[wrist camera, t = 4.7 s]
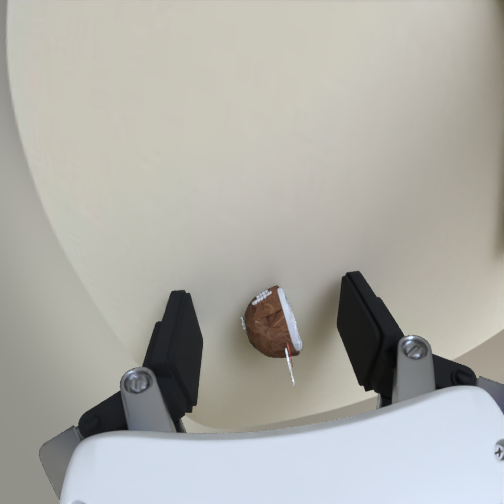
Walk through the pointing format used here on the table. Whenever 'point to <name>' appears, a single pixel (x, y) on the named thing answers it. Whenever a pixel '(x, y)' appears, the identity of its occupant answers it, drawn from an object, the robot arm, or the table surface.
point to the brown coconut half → (272, 325)
